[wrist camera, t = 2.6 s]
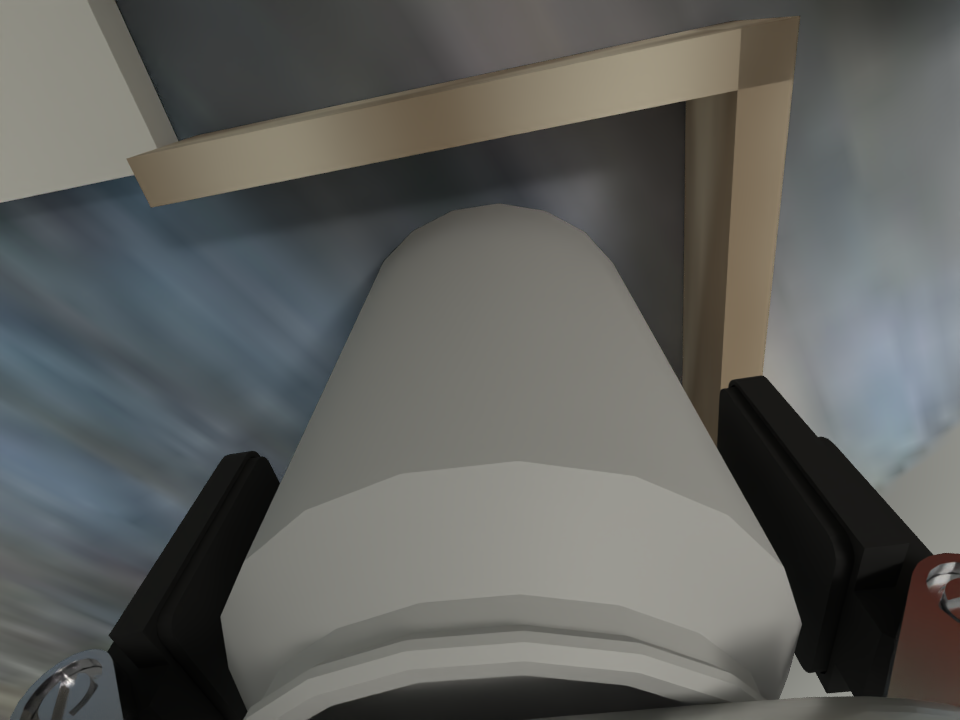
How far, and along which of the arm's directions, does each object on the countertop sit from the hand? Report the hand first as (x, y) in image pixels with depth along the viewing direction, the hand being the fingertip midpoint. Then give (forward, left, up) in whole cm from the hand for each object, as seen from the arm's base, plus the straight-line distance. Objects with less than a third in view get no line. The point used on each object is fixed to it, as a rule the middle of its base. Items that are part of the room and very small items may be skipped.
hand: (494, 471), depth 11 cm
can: (0, 0, -6) cm, 6 cm away
